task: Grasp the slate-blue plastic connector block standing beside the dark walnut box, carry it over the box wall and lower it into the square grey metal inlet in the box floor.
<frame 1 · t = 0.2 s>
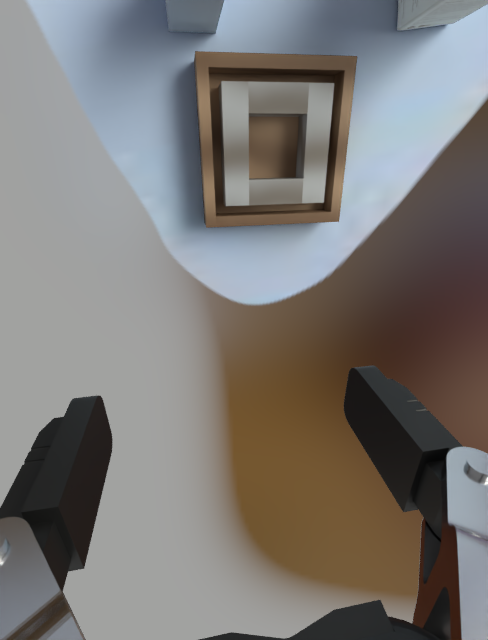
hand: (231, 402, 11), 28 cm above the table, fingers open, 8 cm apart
connector: (190, 1, 28), on the table
walnut box: (269, 148, 33), on the table
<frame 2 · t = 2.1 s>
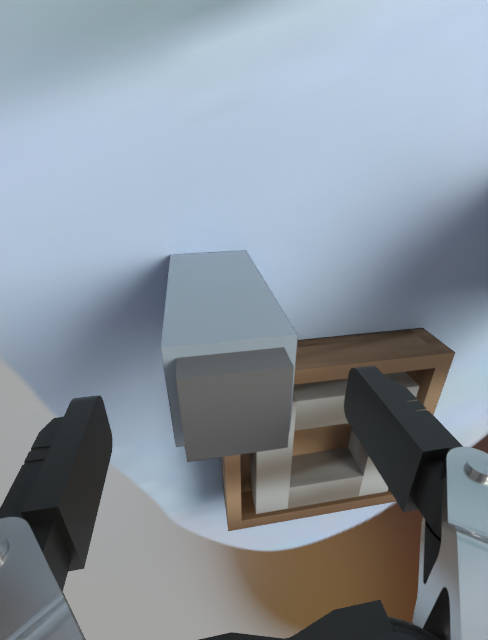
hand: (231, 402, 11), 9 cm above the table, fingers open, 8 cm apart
connector: (211, 287, 18), on the table
walnut box: (313, 418, 24), on the table
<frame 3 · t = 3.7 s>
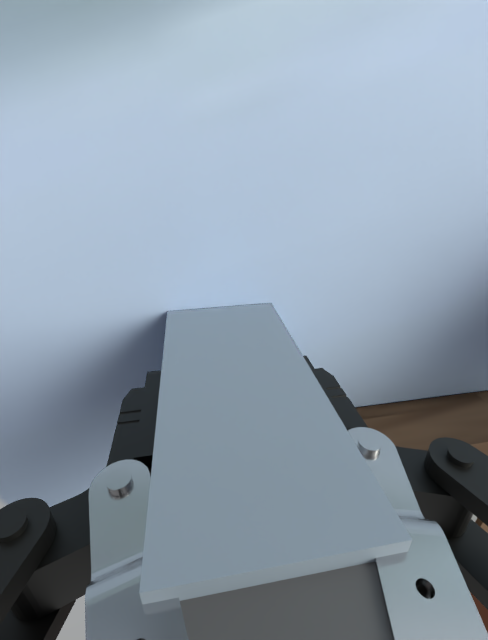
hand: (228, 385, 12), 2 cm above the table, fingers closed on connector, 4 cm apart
connector: (222, 351, 14), on the table, touching gripper
walnut box: (348, 498, 19), on the table
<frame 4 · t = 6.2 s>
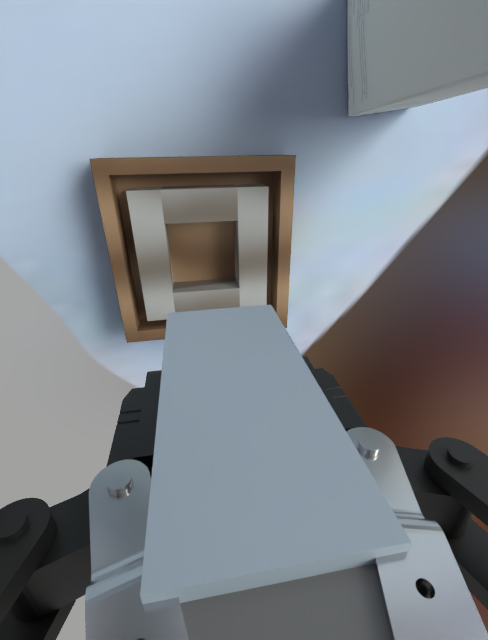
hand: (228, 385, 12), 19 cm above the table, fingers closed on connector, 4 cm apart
connector: (222, 352, 14), point 17 cm above the table, touching gripper
skincare box: (379, 46, 24), on the table
walnut box: (202, 247, 28), on the table
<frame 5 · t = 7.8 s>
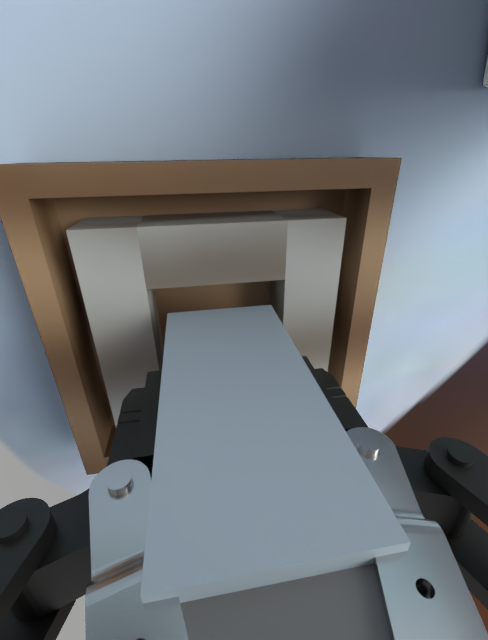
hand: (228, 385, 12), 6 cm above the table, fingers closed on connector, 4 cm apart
connector: (222, 352, 14), point 4 cm above the table, touching gripper
walnut box: (214, 311, 17), on the table
when the fingers open (4 cm above the table, at t = 9.0 s): connector stays where it is, resting on walnut box.
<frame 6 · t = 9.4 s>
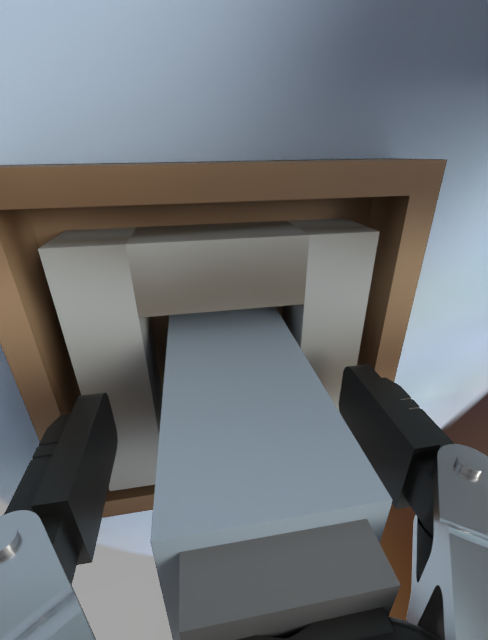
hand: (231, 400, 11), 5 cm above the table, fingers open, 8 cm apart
connector: (222, 343, 14), point 1 cm above the table, touching walnut box
walnut box: (218, 334, 15), on the table
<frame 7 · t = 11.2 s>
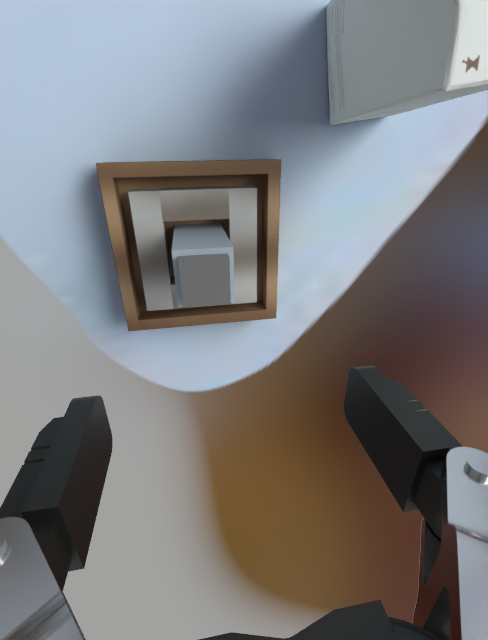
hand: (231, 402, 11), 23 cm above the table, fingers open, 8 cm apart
connector: (199, 246, 30), point 1 cm above the table, touching walnut box
skincare box: (357, 62, 27), on the table
walnut box: (197, 243, 31), on the table
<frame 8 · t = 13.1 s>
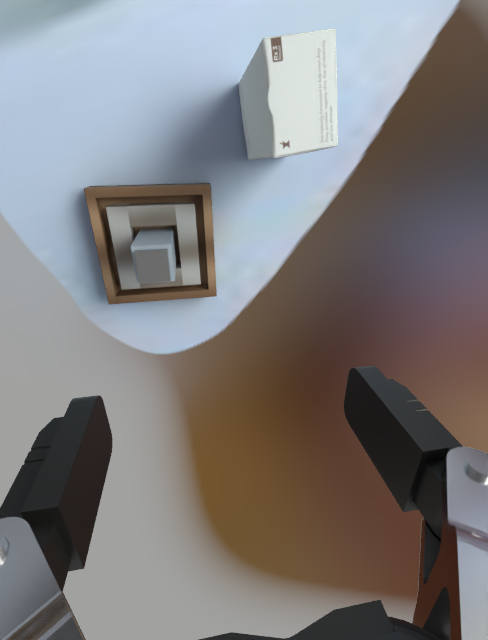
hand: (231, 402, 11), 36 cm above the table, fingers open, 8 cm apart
connector: (159, 243, 43), point 1 cm above the table, touching walnut box
skincare box: (264, 117, 39), on the table
walnut box: (158, 242, 43), on the table
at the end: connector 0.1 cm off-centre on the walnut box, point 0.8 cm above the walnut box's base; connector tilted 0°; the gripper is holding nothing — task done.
